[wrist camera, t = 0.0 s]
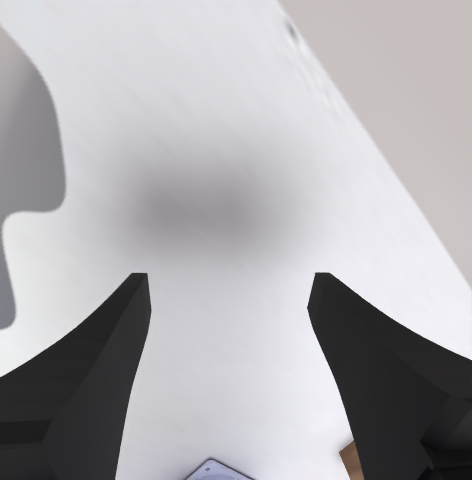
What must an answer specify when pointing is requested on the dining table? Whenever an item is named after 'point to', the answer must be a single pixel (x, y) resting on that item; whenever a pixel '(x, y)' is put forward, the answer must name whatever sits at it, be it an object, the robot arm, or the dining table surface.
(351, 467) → the walnut block
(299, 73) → the dining table surface
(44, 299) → the dining table surface
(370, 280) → the dining table surface
